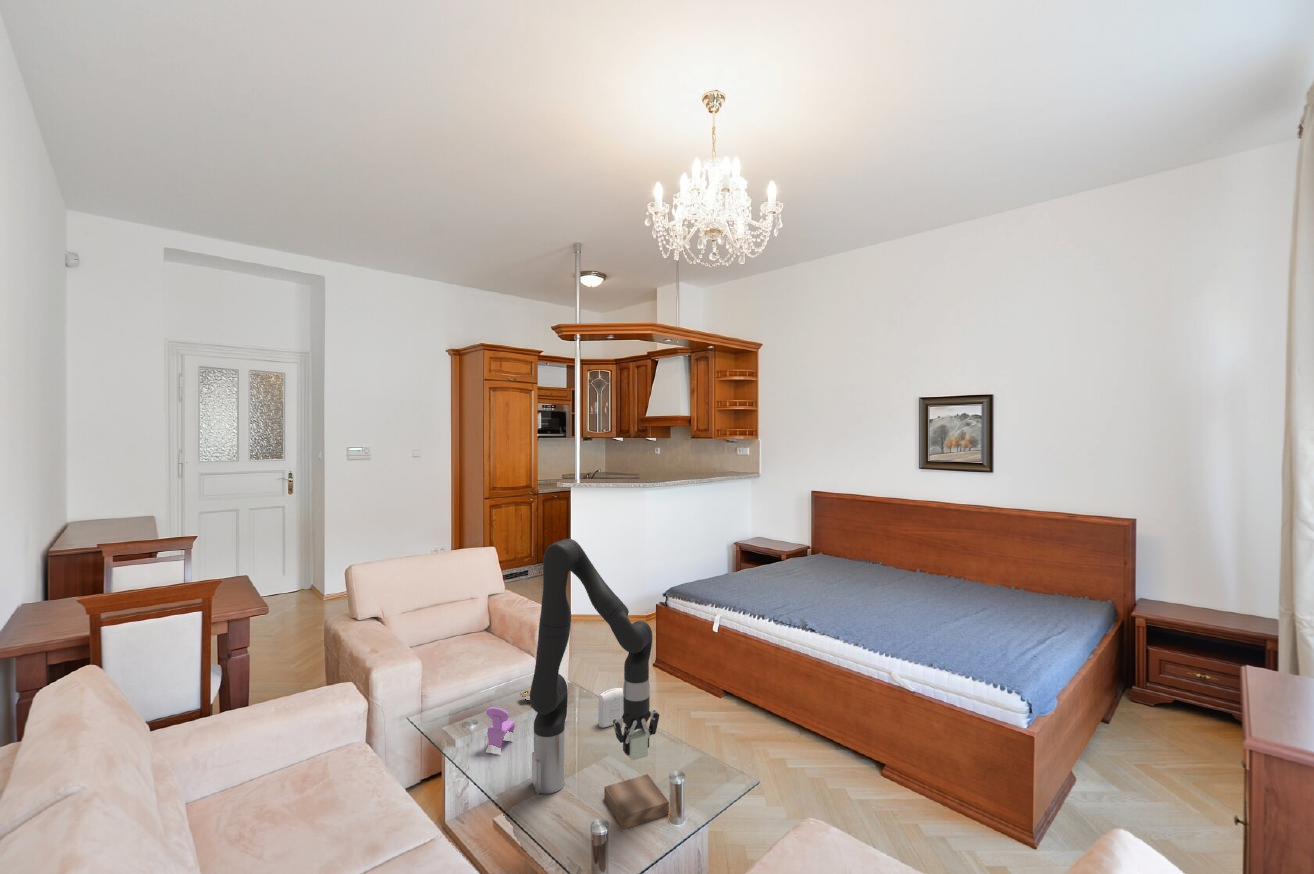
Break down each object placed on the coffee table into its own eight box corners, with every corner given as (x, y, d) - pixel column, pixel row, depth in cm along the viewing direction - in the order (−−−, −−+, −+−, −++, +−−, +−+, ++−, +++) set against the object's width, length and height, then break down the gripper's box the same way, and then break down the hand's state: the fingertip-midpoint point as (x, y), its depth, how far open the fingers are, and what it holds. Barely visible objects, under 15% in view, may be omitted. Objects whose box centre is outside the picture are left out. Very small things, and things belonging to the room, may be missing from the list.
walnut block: (623, 830, 160) (623, 816, 160) (604, 799, 172) (604, 786, 172) (668, 815, 166) (668, 801, 166) (647, 786, 179) (647, 773, 178)
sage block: (631, 760, 165) (631, 739, 165) (624, 751, 170) (624, 730, 169) (647, 755, 167) (647, 735, 167) (640, 746, 172) (640, 726, 172)
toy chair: (518, 741, 201) (518, 699, 201) (504, 756, 193) (504, 711, 192) (496, 738, 204) (496, 695, 203) (482, 752, 195) (482, 708, 194)
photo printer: (621, 716, 219) (621, 683, 218) (627, 721, 215) (627, 688, 215) (596, 724, 213) (596, 690, 213) (602, 729, 210) (602, 695, 209)
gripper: (617, 704, 161) (617, 765, 162) (664, 694, 167) (664, 752, 168) (608, 692, 168) (608, 750, 169) (653, 682, 174) (653, 738, 175)
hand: (636, 751), depth 169 cm, fingers closed on sage block, 5 cm apart
